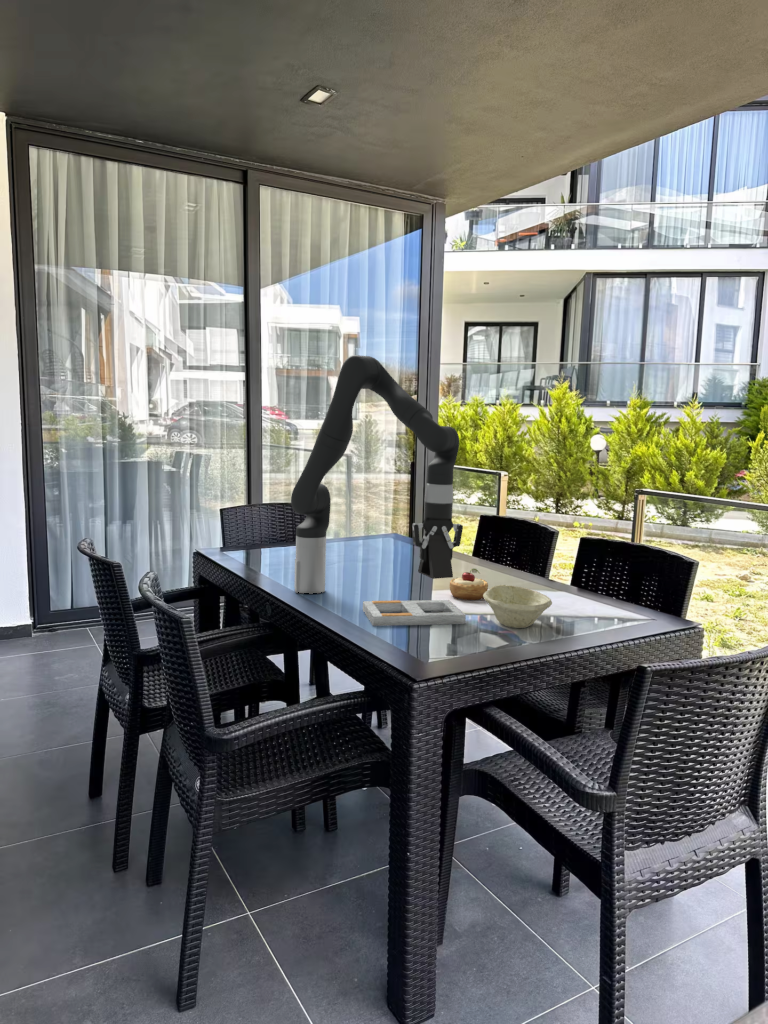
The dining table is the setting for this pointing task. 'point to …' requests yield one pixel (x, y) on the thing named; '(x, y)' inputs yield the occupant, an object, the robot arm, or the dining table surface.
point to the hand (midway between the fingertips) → (435, 561)
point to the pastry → (468, 587)
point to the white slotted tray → (413, 612)
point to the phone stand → (436, 558)
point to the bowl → (516, 605)
